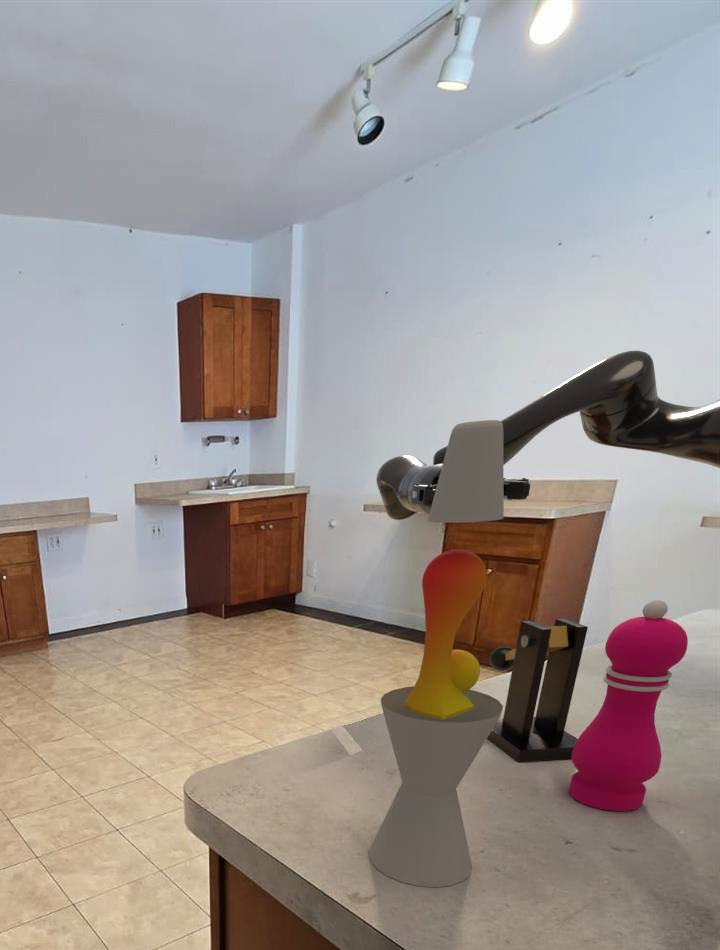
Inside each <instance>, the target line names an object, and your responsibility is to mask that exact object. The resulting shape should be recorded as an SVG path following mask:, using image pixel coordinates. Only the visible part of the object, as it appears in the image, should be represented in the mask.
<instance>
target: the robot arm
mask: <svg viewBox="0 0 720 950" xmlns="http://www.w3.org/2000/svg"><path fill="white" fill-rule="evenodd" d="M576 413H579V416H580V420H581V425H582V429H583V432H584V434H585V435H586V437H587V438H588V439H589V440H590V441H592V442H594V443H597V444H599V445H602V446H608V447H615V448H620V449H627V450H637V451H645V452H650V453H651V452H652V453H657V454H661V455H666V456H671V457H675V458H679V459H683V460H688V461H692V462H697V463H701V464H705V465H708V466H712V467H715V468H718V469H720V399H718V400H715V401H712V402H710V403H707V404H704V405H700V406H687V405H680V404H675V403H672V402H668V401H666V400H663V399H661V398H660V397H659V396H658V390H657V380H656V371H655V364H654V360H653V357H652V356H651V355H650V354H649V353H648V352H646V351H643V350H627V351H623V352H620V353H616V354H614V355H612V356H609V357H607V358H605V359H603V360H600V361H599V362H597V363H595V364H593V365H591V366H590V367H588V368H586V369H584V370H582V371H581V372H579V373H578V374H576V375H574V376H573V377H571V378H569V379H567V380H566V381H564V382H563V383H561V384H559V385H558V386H556V387H554V388H553V389H551V390H549V391H548V392H545V393H544V394H543V395H541V396H540V397H538V398H536V399H534V400H533V401H531V402H529V403H528V404H527V405H524V406H523V407H522V408H520V409H519V410H517V411H515V412H514V413H512V414H510V415H509V416H506V417H505V418H503V419H501V420H499V421H500V422H501V423H502V425H503V466H505V465H506V464H508V462H510V461H511V460H512V459H513V458H514V457H516V455H517V454H518V453H519V452H520V451H521V450H523V449H524V448H525V447H526V446H527V445H528V444H529V443H530V442H531V441H532V440H533V439H534V438H535V437H537V436H538V435H539V434H540V433H542V432H543V431H544V430H545V429H547V428H548V427H550V426H551V425H553V424H555V423H556V422H558V421H560V420H562V419H564V418H566V417H569V416H570V415H571V416H572V415H573V414H576ZM447 447H448V445H446V446H443V447H442V448H439V449H438V450H436V452H435V453H434V454H433V457H432V464H431V465H428V464H427V463H426V462H424V461H423V460H421V459H420V458H417V457H415V456H413V455H406V454H405V455H399V456H394V457H392V458H391V459H388V460H387V461H385V462H384V463H383V464H382V465H381V466H380V468H379V469H378V471H377V474H376V476H375V477H376V478H375V480H376V481H375V482H376V485H377V489H378V491H379V494H380V496H381V497H380V498H381V500H382V503H383V505H384V509H385V511H386V514H387V516H388V517H389V518H390V519H391V520H393V521H405V520H407V519H410V518H412V517H413V516H415V515H417V514H418V513H419V514H423V515H425V516H429V514H430V510H431V506H432V503H433V499H434V495H435V491H436V488H437V484H438V480H439V477H440V473H441V469H442V465H443V462H444V458H445V454H446V450H447ZM529 480H530V479H529V478H527V477H522V478H506V477H503V498H504V501H505V500H507V501H513V500H517V501H520V500H521V501H524V500H526V499H527V498H528V497H529V496H530V491H531V484H530V482H529Z"/></svg>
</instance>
